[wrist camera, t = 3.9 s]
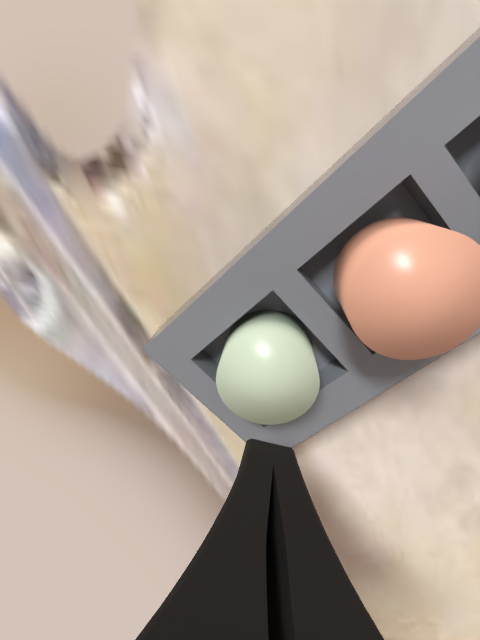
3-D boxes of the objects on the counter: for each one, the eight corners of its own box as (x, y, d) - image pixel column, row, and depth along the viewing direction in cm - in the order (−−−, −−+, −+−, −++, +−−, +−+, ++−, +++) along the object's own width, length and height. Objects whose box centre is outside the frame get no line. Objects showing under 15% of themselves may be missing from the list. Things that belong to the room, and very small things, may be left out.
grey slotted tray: (674, 165, 13) (756, 162, 11) (269, 431, 20) (268, 462, 18) (565, -52, 11) (638, -110, 9) (158, 328, 18) (142, 349, 16)
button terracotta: (471, 278, 13) (523, 305, 10) (375, 343, 14) (398, 382, 12) (407, 190, 12) (445, 195, 9) (310, 270, 14) (319, 293, 11)
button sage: (331, 354, 17) (341, 389, 14) (265, 400, 18) (263, 440, 15) (272, 291, 16) (271, 315, 13) (208, 345, 17) (195, 377, 14)
